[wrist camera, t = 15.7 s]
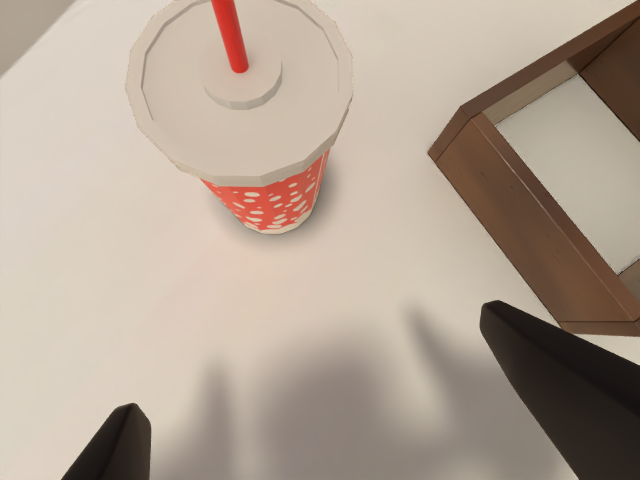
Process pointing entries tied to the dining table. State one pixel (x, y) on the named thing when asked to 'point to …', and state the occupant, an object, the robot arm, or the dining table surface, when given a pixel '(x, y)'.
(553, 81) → the crate
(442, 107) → the dining table surface
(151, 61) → the beverage cup
